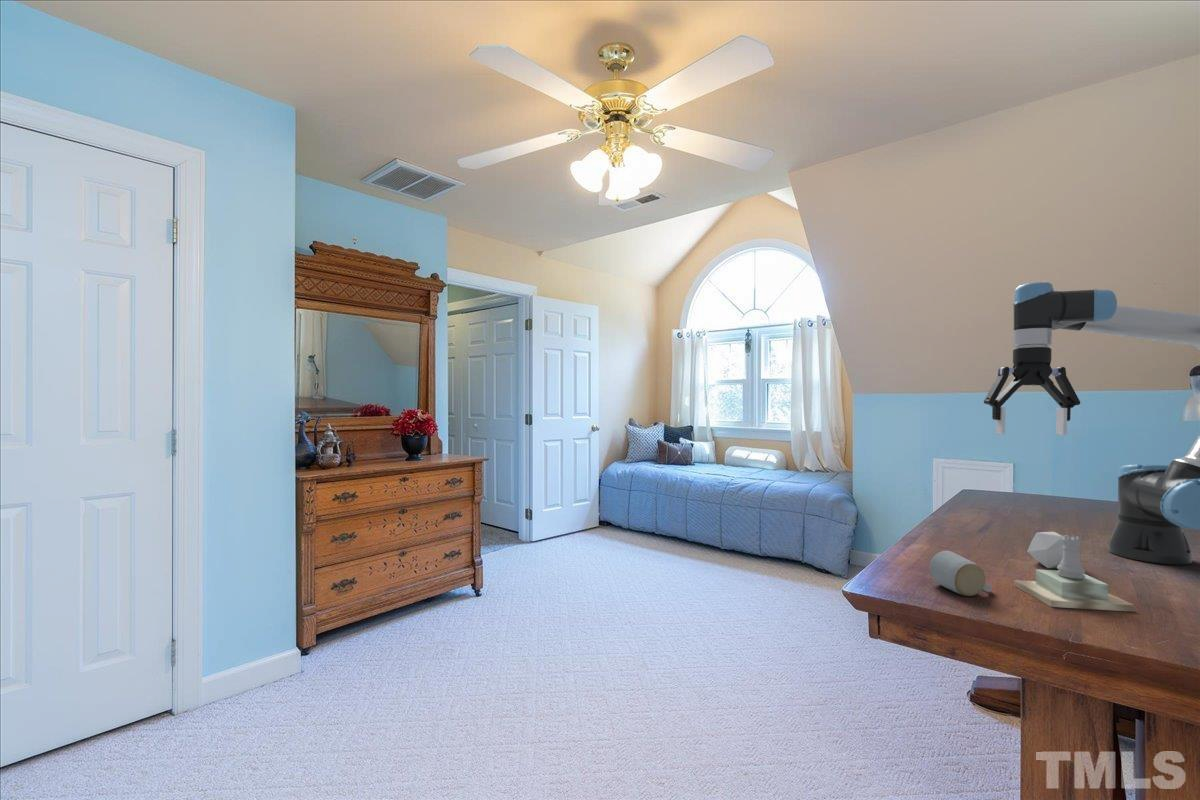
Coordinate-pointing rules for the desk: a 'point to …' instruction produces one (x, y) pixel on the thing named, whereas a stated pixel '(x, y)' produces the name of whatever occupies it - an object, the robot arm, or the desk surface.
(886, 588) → the desk surface
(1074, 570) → the rook chess piece
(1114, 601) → the plinth
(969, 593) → the ceramic mug
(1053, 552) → the die
